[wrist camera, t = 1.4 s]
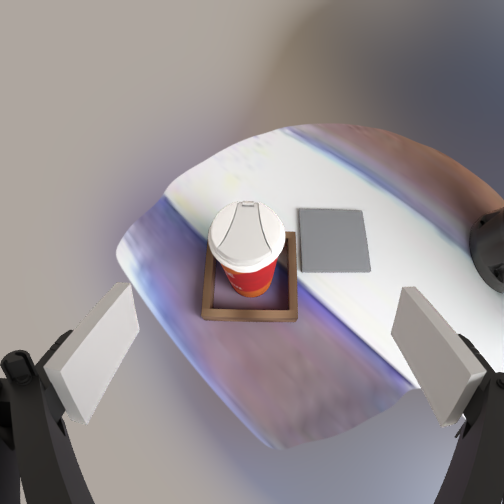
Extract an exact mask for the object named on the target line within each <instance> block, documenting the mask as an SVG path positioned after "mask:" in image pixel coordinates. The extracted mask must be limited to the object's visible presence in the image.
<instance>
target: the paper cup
mask: <svg viewBox="0 0 504 504" xmlns="http://www.w3.org/2000/svg"><path fill="white" fill-rule="evenodd" d="M208 242H209V247H210V250H211V252H212V254H213V255H214V257H215V258H216V259H217V260H218V261H219V262H220V263H221V265H222V267H223V269H224V271H225V273H226V275H227V277H228V279H229V281H230V283H231V285H232V286H233V288H234V289H235V290H236V292H238V293H239V294H240V295H242V296H245V297H257V296H260V295H262V294H263V293H265V292H266V291H267V289H268V288H269V286H270V284H271V281H272V278H273V274H274V270H275V267H276V263H277V258H278V256H279V254H280V253H281V251H282V249H283V246H284V243H285V230H284V226H283V224H282V221H281V220H280V218H279V217H278V216H277V215H276V213H275V212H274V211H273V210H272V209H271V208H269V207H268V206H267V205H265V204H263V203H260V202H259V203H254V202H253V201H243V202H239V203H238V201H237V202H233V203H231V204H229V205H227V206H226V207H224V208H223V209H222V210H221V211H220V212H219V213H218V214H217V215H216V217H215V218H214V220H213V222H212V224H211V226H210V229H209V233H208Z"/></svg>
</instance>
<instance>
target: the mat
mask: <svg viewBox="0 0 504 504" xmlns="http://www.w3.org/2000/svg"><path fill="white" fill-rule="evenodd" d="M299 219H300V238H301V261H302V272H370V271H371V267H370V259H369V252H368V245H367V238H366V231H365V225H364V219H363V213H362V211H357V210H329V209H299Z"/></svg>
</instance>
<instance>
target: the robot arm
mask: <svg viewBox="0 0 504 504" xmlns="http://www.w3.org/2000/svg"><path fill="white" fill-rule="evenodd" d="M470 250H471V254H472V258H473V261H474V263H475V266H476V268H477V270H478V272H479V273H480V275H481V277H482V278H483V279H484V281H485V282H486V283H487V284H488V285H489V286H490V287H491V288H493V289H494V290H496V291H498V292H500V293H504V207H502V208H500V209H497V210H494V211H492V212H489V213H486V214H484V215H483V216H482V217H481V218H480V219H478V220H477V221H476V222H475V224H474V225H473V227H472V229H471V233H470ZM138 332H139V325H138V320H137V315H136V310H135V305H134V300H133V294H132V288H131V283H120V282H117V283H116V284H115V285H114V286H113V287H112V288H111V289H110V290H109V291H108V293H107V294H106V295H105V296H104V297H103V298H102V299H101V300H100V301H99V302H98V303H97V305H96V306H95V307H94V308H93V309H92V310H91V311H90V312H89V314H88V315H87V316H86V317H85V318H84V319H83V320H82V322H81V323H80V324H79V325H78V326H77V327H76V328H75V330H69V331H68V332H66V333H64V334H63V335H61V336H60V337H59V339H58V340H57V341H56V342H55V344H53V345H52V346H51V348H50V350H48V351H47V352H46V353H45V355H44V356H43V357H42V358H41V359H40V361H39V362H38V363H37V364H36V365H35V366H34V363H33V361H32V359H31V357H30V354H29V353H28V352H26V351H24V350H17V351H13V352H10V353H9V354H7V355H6V356H5V357H4V358H3V359H2V361H1V364H0V366H1V368H2V370H3V372H4V373H5V375H6V377H7V378H6V379H5V378H0V504H20V477H21V481H22V486H23V490H24V494H25V498H26V502H27V504H95V503H94V501H93V499H92V497H91V495H90V492H89V490H88V488H87V485H86V483H85V480H84V478H83V475H82V473H81V470H80V468H79V465H78V463H77V459H76V457H75V454H74V451H73V448H72V445H71V442H70V439H69V436H68V433H67V429H66V426H65V422H64V420H63V419H62V415H63V413H64V412H65V411H66V412H67V414H68V416H69V418H70V419H71V420H72V421H75V422H78V423H82V424H85V425H87V424H88V422H89V420H90V418H91V416H92V414H93V413H94V411H95V409H96V407H97V405H98V403H99V401H100V399H101V398H102V396H103V394H104V392H105V390H106V388H107V387H108V385H109V383H110V381H111V379H112V377H113V376H114V374H115V372H116V371H117V369H118V367H119V365H120V363H121V362H122V360H123V358H124V356H125V355H126V353H127V351H128V350H129V348H130V346H131V344H132V342H133V341H134V339H135V338H136V336H137V334H138ZM391 335H392V337H393V339H394V340H395V342H396V344H397V345H398V347H399V349H400V351H401V352H402V354H403V356H404V358H405V360H406V361H407V363H408V365H409V367H410V368H411V370H412V372H413V374H414V376H415V378H416V379H417V381H418V383H419V385H420V387H421V389H422V390H423V393H424V394H425V396H426V398H427V400H428V402H429V404H430V406H431V408H432V410H433V412H434V414H435V416H436V418H437V420H438V422H439V424H440V426H441V428H442V427H446V426H450V425H453V424H456V423H457V422H458V420H459V418H460V417H461V415H462V414H464V416H465V417H466V420H465V422H464V424H463V425H462V427H461V428H460V429H459V431H458V432H457V434H456V436H455V438H457V437H458V435H459V434H460V436H459V439H458V443H457V446H456V449H455V452H454V455H453V458H452V460H451V463H450V466H449V468H448V471H447V474H446V476H445V479H444V481H443V484H442V486H441V489H440V491H439V493H438V495H437V497H436V500H435V502H434V504H501V502H502V498H503V502H502V504H504V373H502V372H498V373H495V371H494V370H493V369H492V368H491V366H490V365H489V364H488V362H487V361H486V360H485V359H484V357H483V356H482V355H481V354H479V351H478V350H477V349H476V348H475V347H474V345H473V344H472V343H471V342H470V341H469V340H468V339H467V338H465V337H464V336H463V335H461V334H457V333H456V332H455V331H454V330H453V329H452V327H451V326H450V325H449V324H448V323H447V322H446V320H445V319H444V318H443V317H442V316H441V315H440V314H439V312H438V311H437V310H436V309H435V308H434V307H433V306H432V305H431V303H430V302H429V301H428V300H427V299H426V298H425V297H424V296H423V295H422V294H421V292H420V291H419V290H418V289H417V288H416V287H402V290H401V295H400V299H399V304H398V308H397V312H396V316H395V320H394V324H393V327H392V331H391Z"/></svg>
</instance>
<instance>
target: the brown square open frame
mask: <svg viewBox="0 0 504 504" xmlns="http://www.w3.org/2000/svg"><path fill="white" fill-rule="evenodd" d="M284 246H287V266H288V310H234V309H213V300H214V286H215V272H216V258H215V257H214V255H213V254H212V252H211V250H210V247H209V242H208V243H207V253H206V264H205V275H204V287H203V299H202V312H201V316H202V318H203V319H204V320H211V321H242V322H296V320H297V319H298V301H297V263H296V236H295V232H285V243H284Z"/></svg>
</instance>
